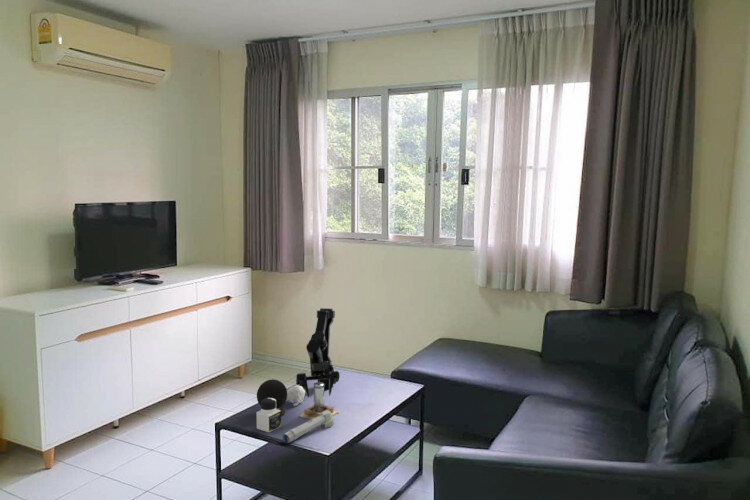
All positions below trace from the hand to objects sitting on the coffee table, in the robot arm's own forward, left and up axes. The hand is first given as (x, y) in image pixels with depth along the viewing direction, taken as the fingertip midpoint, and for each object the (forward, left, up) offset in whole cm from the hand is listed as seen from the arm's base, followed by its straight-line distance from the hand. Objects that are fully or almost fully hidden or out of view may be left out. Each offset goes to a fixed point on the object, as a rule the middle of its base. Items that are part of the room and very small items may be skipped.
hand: (319, 396), depth 233 cm
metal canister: (-1, +1, -8) cm, 8 cm away
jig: (-1, +1, -9) cm, 9 cm away
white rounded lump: (-20, +5, -9) cm, 23 cm away
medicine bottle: (-10, -21, -9) cm, 25 cm away
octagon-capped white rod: (+7, -15, -10) cm, 19 cm away
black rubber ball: (-19, -9, -9) cm, 23 cm away
